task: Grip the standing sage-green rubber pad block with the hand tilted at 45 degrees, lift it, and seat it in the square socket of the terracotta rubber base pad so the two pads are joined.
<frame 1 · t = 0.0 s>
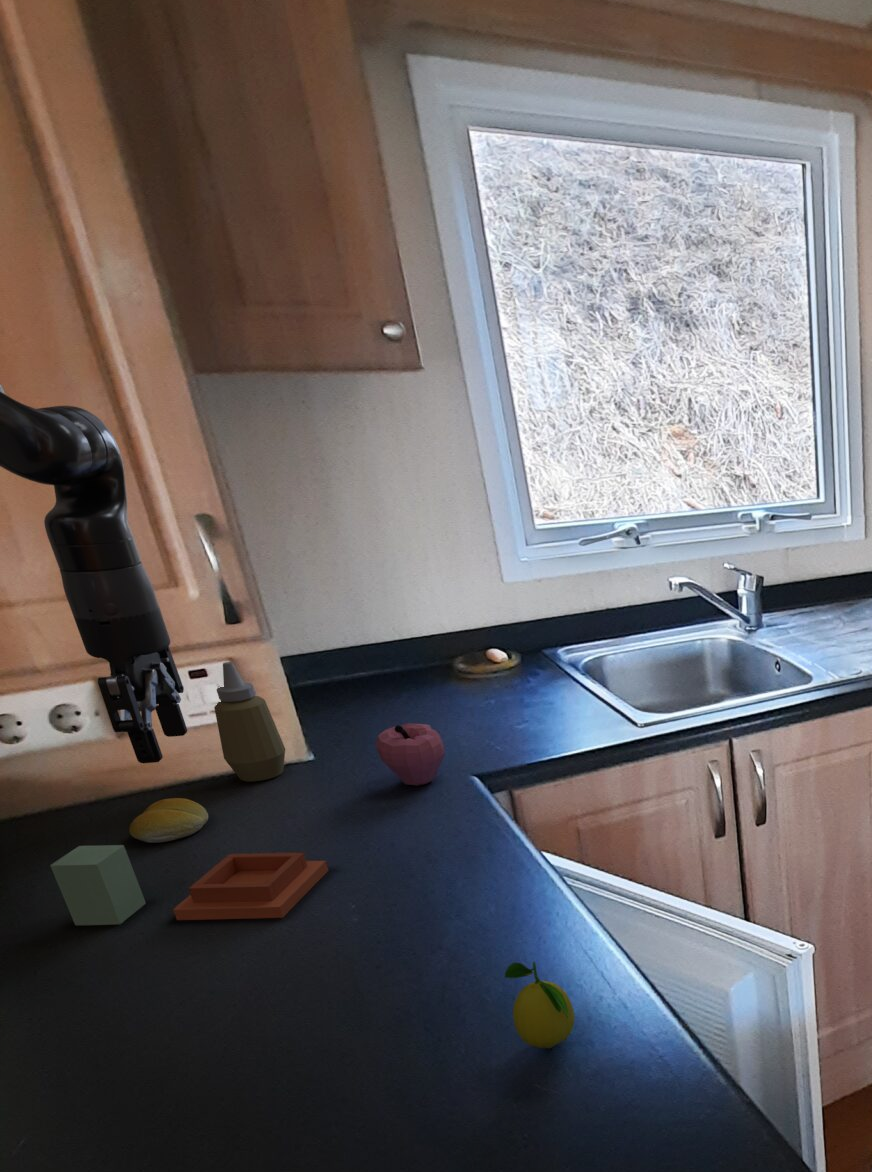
hand: (164, 748, 120), 20 cm above the countertop, tool pointing down, fingers open, 8 cm apart
bread roll: (172, 831, 145), on the countertop
apple: (418, 783, 162), on the countertop
base pad: (256, 894, 130), on the countertop
sage pad block: (111, 914, 125), on the countertop
squeeze bottle: (262, 776, 163), on the countertop
lemon: (548, 1048, 104), on the countertop
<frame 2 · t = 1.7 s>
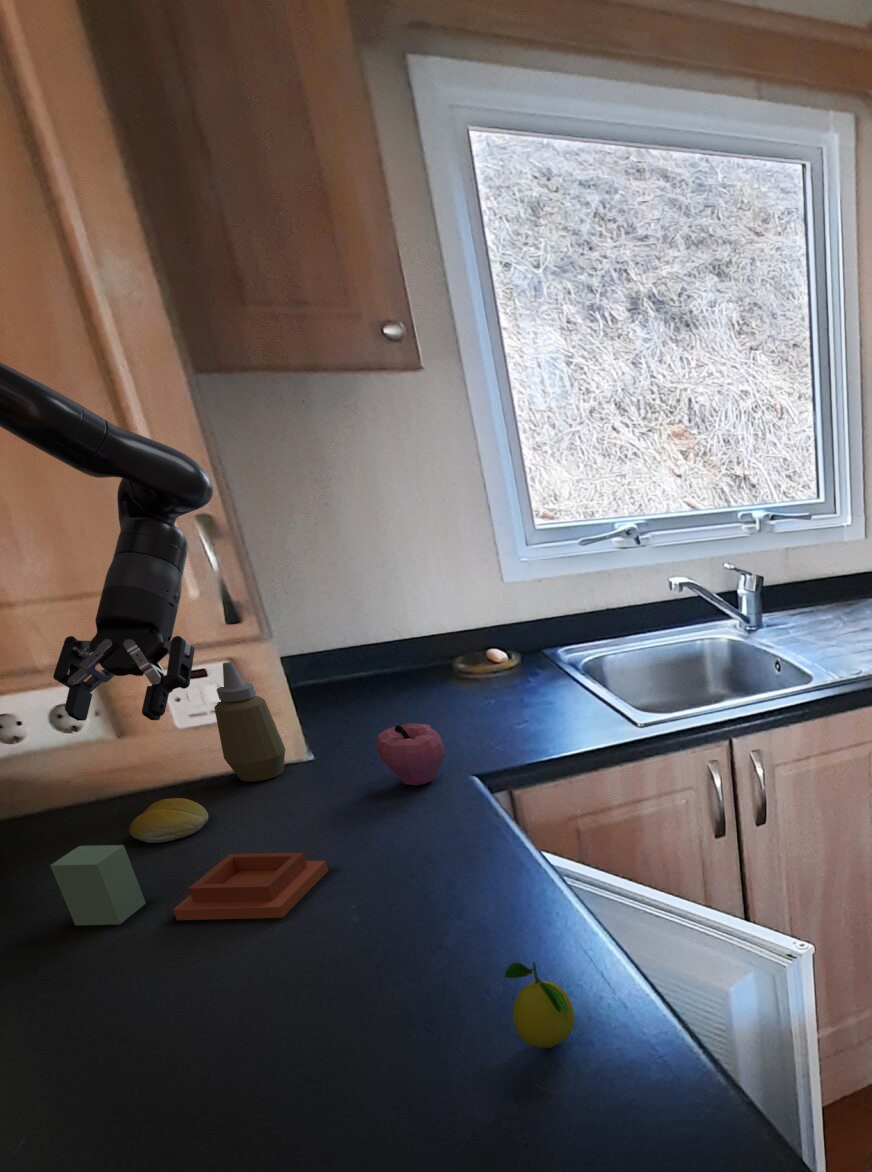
hand: (113, 717, 126), 21 cm above the countertop, tool tilted 45°, fingers open, 8 cm apart
nothing on the countertop moved.
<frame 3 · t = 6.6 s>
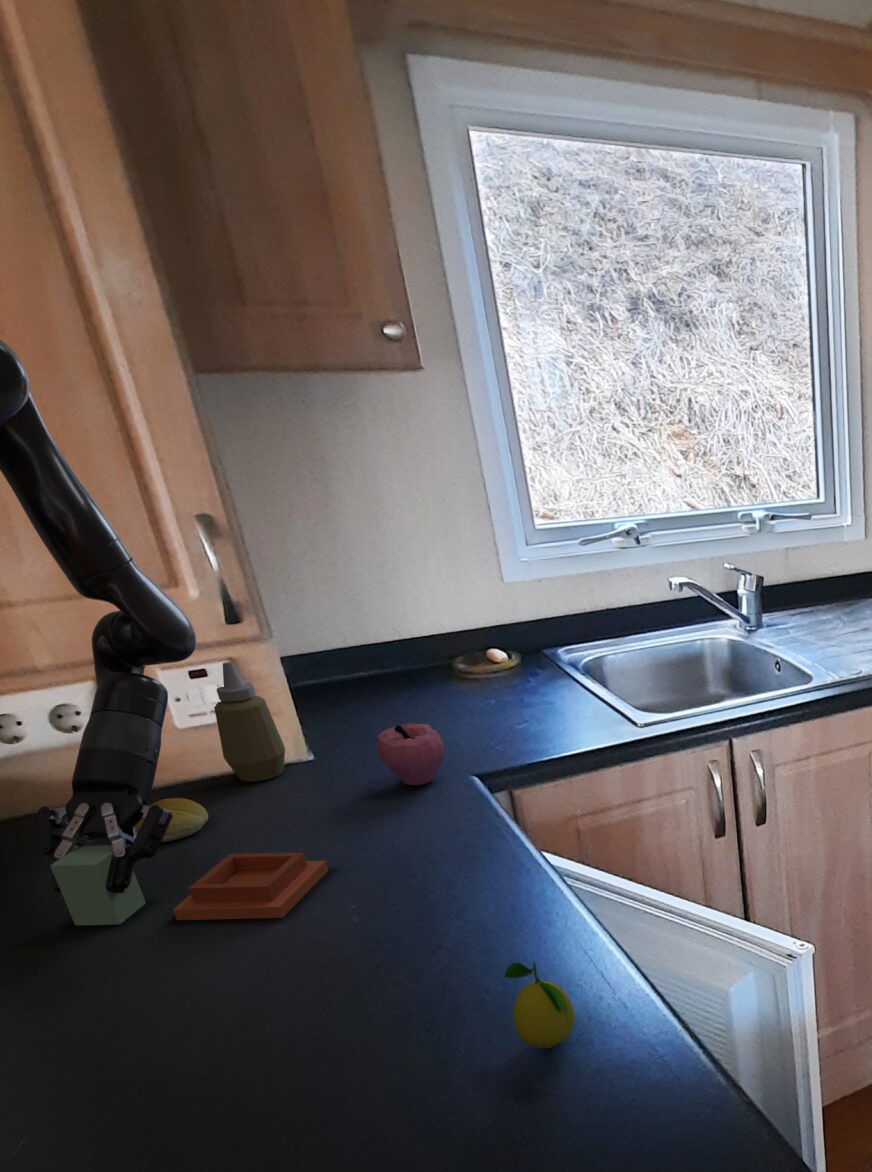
hand: (89, 891, 121), 4 cm above the countertop, tool tilted 45°, fingers closed on sage pad block, 5 cm apart
sage pad block: (111, 914, 125), on the countertop, touching gripper
everything else where it was.
when the fingers open (6 cm above the countertop, at t = 14.5 s): sage pad block stays where it is, resting on base pad.
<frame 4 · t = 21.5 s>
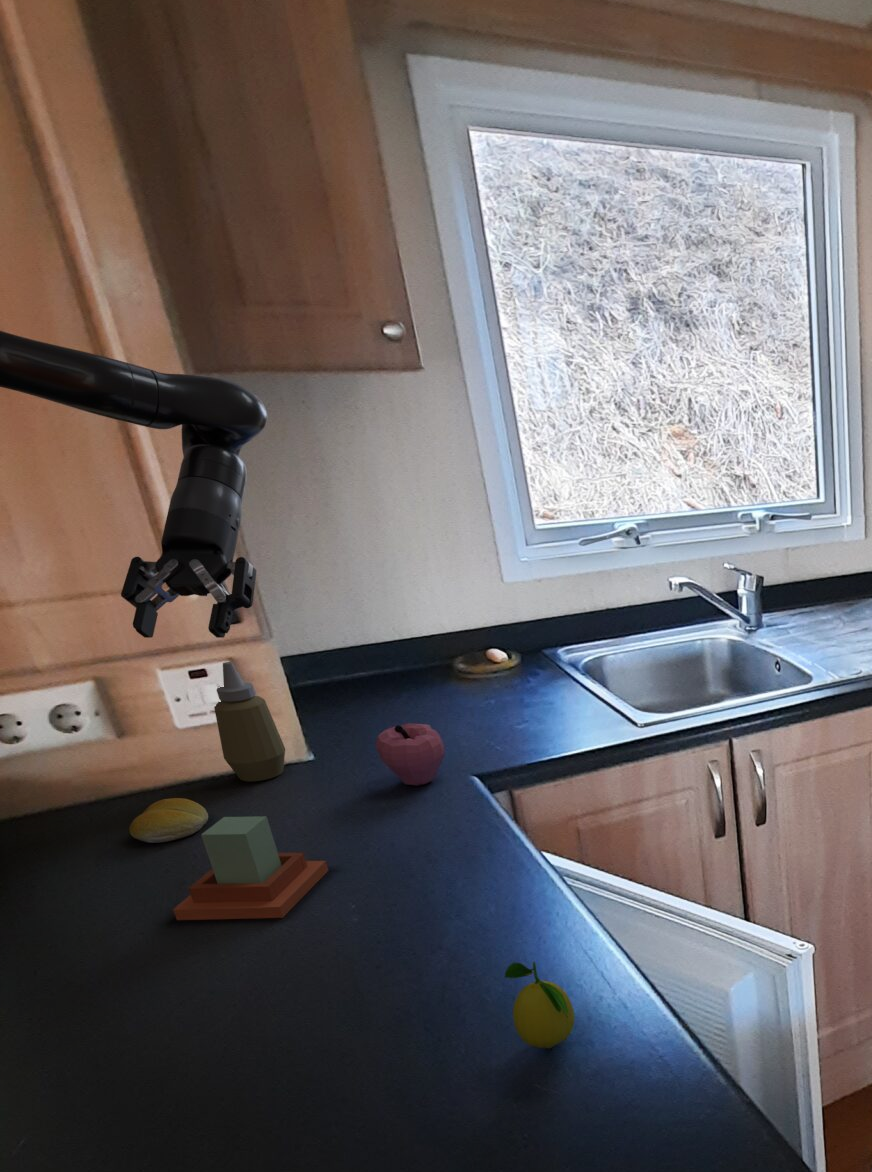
hand: (180, 634, 130), 29 cm above the countertop, tool tilted 45°, fingers open, 8 cm apart
sage pad block: (253, 883, 129), point 1 cm above the countertop, touching base pad
everything else where it was.
at the end: sage pad block 0.1 cm off-centre on the base pad, point 1.5 cm above the base pad's base; sage pad block tilted 0°; the gripper is holding nothing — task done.
